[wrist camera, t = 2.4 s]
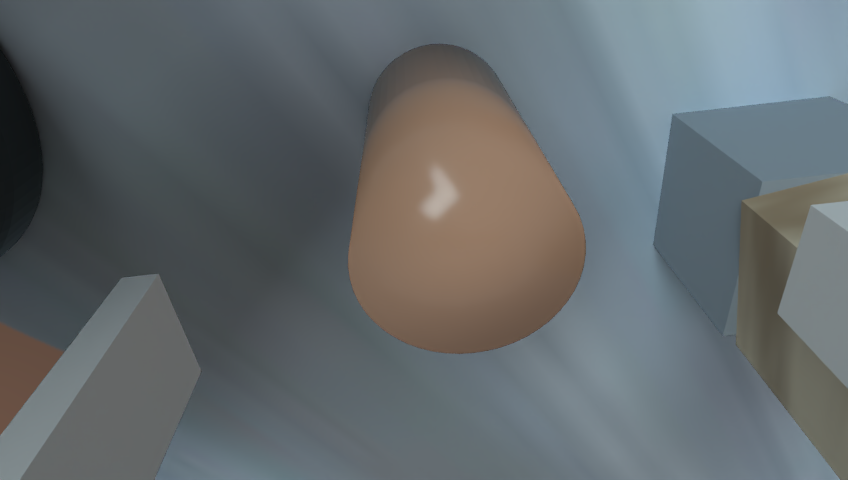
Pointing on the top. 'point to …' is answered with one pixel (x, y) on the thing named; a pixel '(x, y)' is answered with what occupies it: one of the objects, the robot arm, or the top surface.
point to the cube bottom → (737, 185)
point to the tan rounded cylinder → (458, 210)
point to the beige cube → (770, 335)
